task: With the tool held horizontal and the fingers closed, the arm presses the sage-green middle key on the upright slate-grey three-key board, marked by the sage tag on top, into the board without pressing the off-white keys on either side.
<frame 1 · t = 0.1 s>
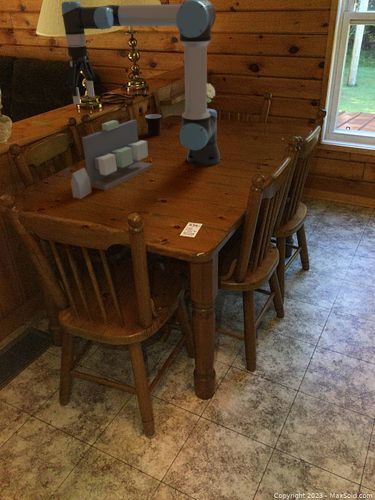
hand: (84, 100, 184), 28 cm above the table, tool pointing down, fingers open, 13 cm apart
key middle: (119, 155, 180), point 9 cm above the table, slide at 0.0 cm
key 2: (135, 149, 186), point 9 cm above the table, slide at 0.0 cm
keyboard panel: (116, 174, 186), on the table
key 1: (102, 163, 173), point 9 cm above the table, slide at 0.0 cm
grey upright block: (82, 195, 169), on the table
coffee mug: (155, 134, 236), on the table
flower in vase: (203, 131, 238), on the table
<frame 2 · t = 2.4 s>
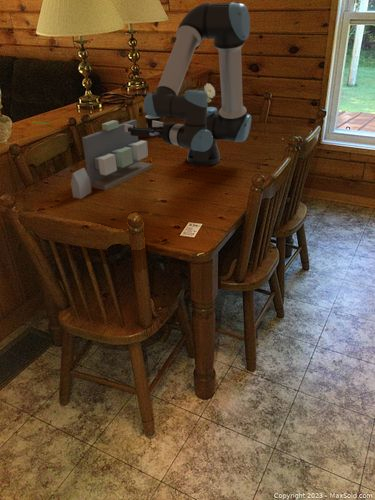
hand: (139, 125, 168), 23 cm above the table, tool horizontal, fingers open, 13 cm apart
nothing on the table moved.
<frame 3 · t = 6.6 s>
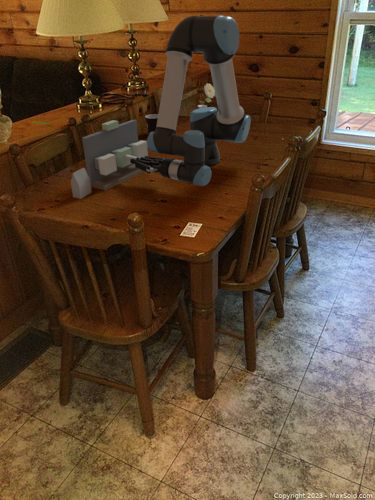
hand: (126, 158, 177), 9 cm above the table, tool horizontal, fingers closed
key middle: (119, 155, 180), point 9 cm above the table, slide at 0.1 cm, touching gripper
everything else where it was.
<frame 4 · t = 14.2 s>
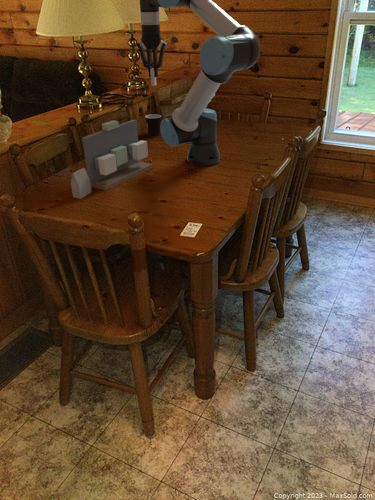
hand: (153, 85, 187), 32 cm above the table, tool pointing down, fingers closed
key middle: (114, 154, 181), point 9 cm above the table, slide at 2.8 cm
everything else where it was.
at the end: key middle slide at 2.8 cm; key 2 slide at 0.0 cm; key 1 slide at 0.0 cm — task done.
